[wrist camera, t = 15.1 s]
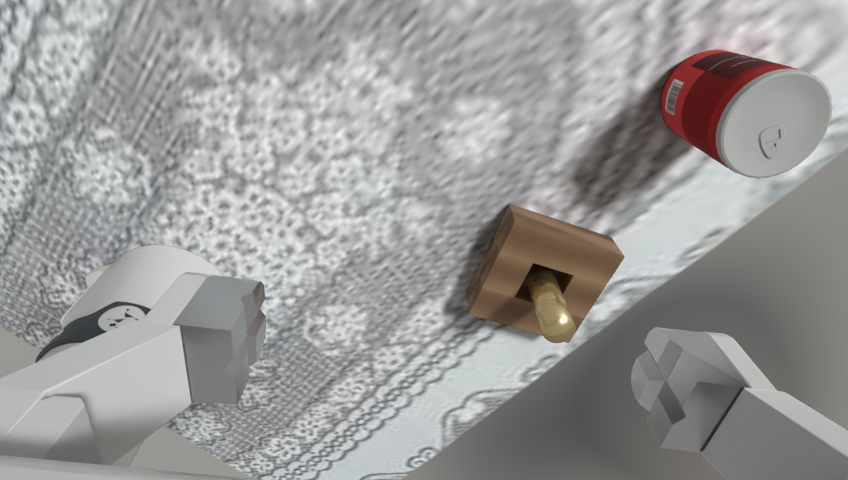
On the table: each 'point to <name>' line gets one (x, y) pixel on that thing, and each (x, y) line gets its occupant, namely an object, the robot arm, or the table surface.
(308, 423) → the table surface
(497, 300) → the socket block
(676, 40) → the table surface
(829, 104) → the canned food
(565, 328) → the pin
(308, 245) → the table surface
